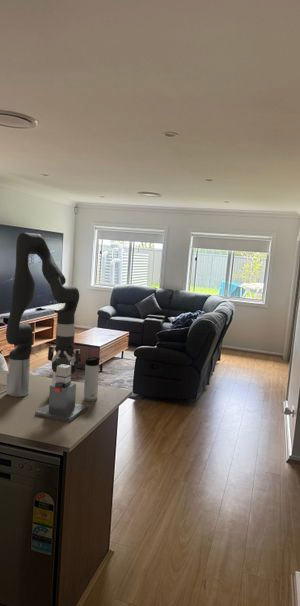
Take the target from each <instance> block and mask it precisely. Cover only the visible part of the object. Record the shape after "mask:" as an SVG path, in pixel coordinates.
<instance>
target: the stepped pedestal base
mask: <svg viewBox="0 0 300 606" xmlns="http://www.w3.org/2000/svg"><path fill="white" fill-rule="evenodd" d="M76 395H77V383H75V382H70V385H69V386H67V387H63V384H60V383H54V384H52V383H51V385H49V395H48V396H49V397H48V398H49V400H48V403H47V404H45V405H44V406H42V407H41V408H39V409H37V410H36V411H34V416H37V417H41V418H47V419H53V420H56V421H62V422H67V423H71V422H73V420H75V419H76V418H77V417H79V416H80V415H82V414H83V413H84V412H86V411H87V410H88V405H87V404H80V403H76Z"/></svg>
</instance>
